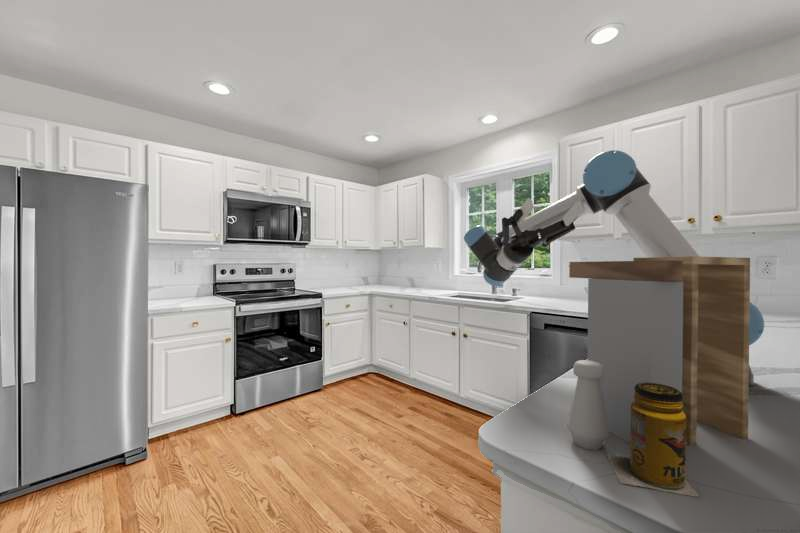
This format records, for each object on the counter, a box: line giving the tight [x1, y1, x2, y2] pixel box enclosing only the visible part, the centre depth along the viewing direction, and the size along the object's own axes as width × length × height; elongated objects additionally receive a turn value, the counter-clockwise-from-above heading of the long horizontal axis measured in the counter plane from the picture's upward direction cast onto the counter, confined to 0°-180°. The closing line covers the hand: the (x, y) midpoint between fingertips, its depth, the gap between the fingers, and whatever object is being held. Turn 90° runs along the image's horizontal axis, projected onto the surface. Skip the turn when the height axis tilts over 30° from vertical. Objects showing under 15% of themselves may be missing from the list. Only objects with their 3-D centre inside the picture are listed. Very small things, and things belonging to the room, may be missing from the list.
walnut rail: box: [568, 260, 682, 282], centre depth 64 cm, size 3×21×3 cm, turn 12°
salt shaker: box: [567, 359, 610, 451], centre depth 57 cm, size 6×6×13 cm
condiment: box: [606, 383, 700, 497], centre depth 48 cm, size 7×8×12 cm
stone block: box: [586, 278, 683, 443], centre depth 61 cm, size 6×13×26 cm, turn 12°
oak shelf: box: [632, 256, 751, 446], centre depth 63 cm, size 12×11×30 cm
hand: (556, 203), depth 85 cm, fingers open, 13 cm apart
